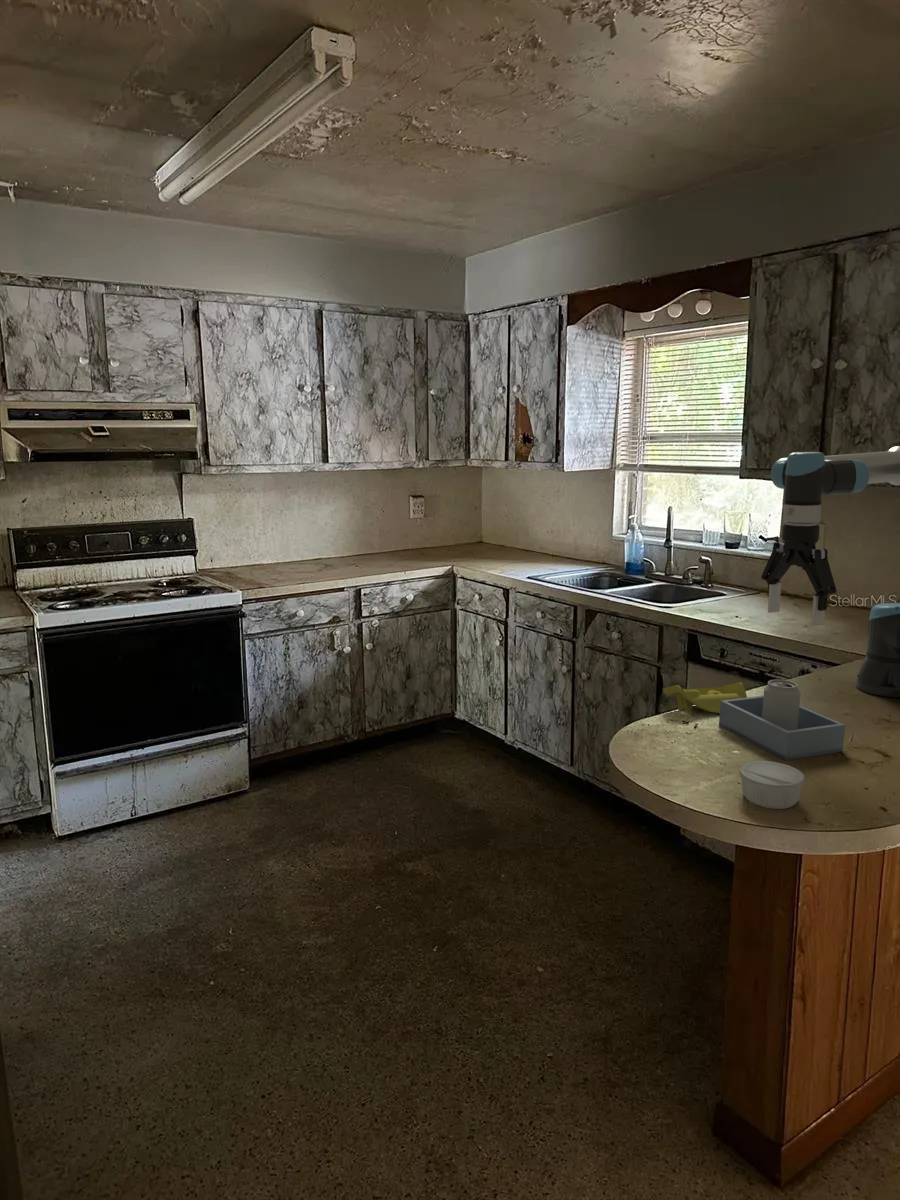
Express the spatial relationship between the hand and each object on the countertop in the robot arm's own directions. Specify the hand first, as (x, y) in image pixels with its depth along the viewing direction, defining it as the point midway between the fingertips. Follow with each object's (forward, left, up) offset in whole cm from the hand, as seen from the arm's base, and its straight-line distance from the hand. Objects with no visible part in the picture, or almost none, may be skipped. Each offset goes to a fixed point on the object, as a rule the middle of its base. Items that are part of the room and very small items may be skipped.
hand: (794, 618), depth 188 cm
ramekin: (+29, +30, -26) cm, 50 cm away
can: (+6, +5, -25) cm, 26 cm away
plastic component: (+9, -18, -26) cm, 33 cm away
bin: (+6, +5, -26) cm, 27 cm away
